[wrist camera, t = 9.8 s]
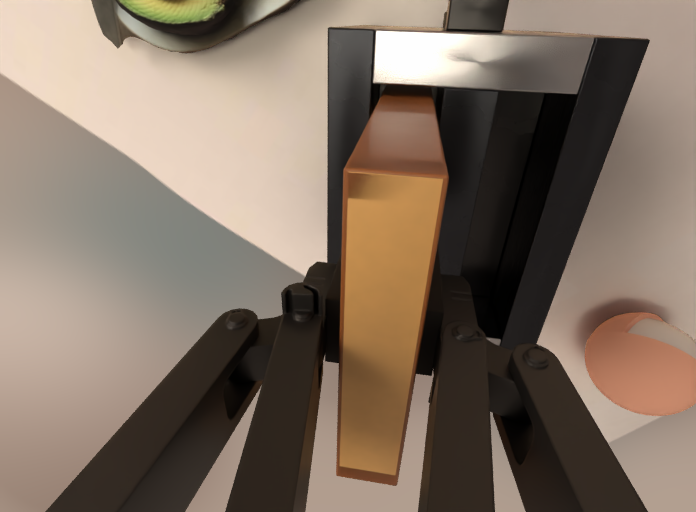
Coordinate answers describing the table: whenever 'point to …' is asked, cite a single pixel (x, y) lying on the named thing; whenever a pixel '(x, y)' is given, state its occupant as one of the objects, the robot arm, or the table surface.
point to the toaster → (492, 143)
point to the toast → (386, 277)
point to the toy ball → (643, 364)
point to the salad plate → (183, 20)
